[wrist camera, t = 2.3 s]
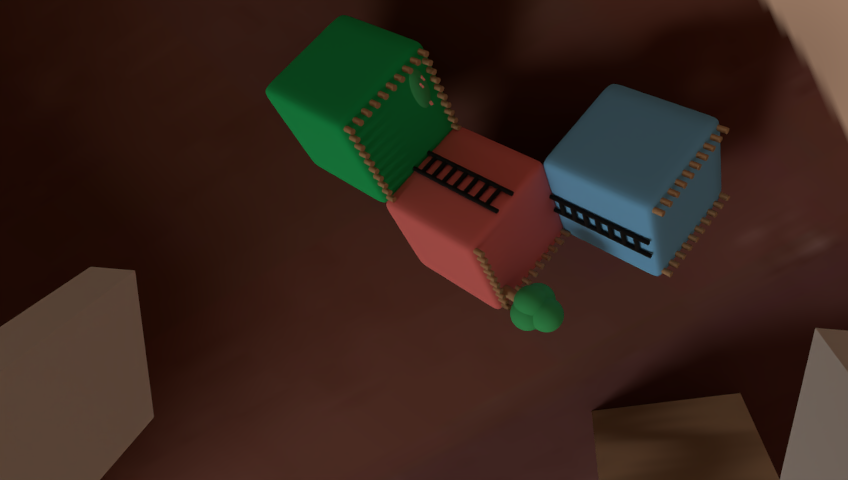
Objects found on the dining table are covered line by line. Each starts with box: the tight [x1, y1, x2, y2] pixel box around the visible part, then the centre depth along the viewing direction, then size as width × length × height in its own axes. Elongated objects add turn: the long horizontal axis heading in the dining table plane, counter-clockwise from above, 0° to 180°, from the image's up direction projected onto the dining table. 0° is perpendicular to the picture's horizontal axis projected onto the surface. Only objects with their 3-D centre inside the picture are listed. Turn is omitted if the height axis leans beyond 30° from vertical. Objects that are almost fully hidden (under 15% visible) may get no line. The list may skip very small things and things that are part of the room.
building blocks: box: [266, 15, 730, 332], centre depth 25 cm, size 8×8×12 cm
